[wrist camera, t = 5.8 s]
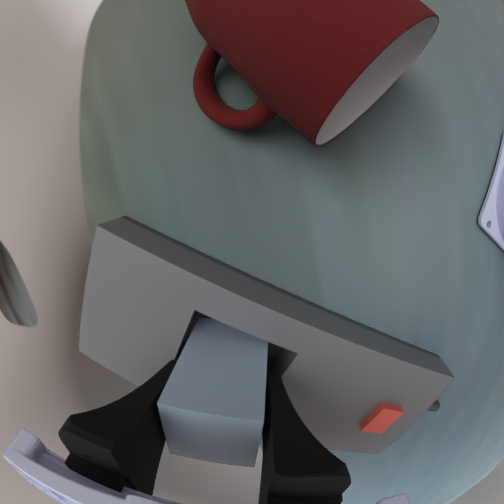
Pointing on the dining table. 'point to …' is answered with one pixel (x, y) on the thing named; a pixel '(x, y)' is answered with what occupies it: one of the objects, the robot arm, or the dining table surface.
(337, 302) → the dining table surface
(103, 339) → the power strip
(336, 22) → the mug
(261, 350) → the block
